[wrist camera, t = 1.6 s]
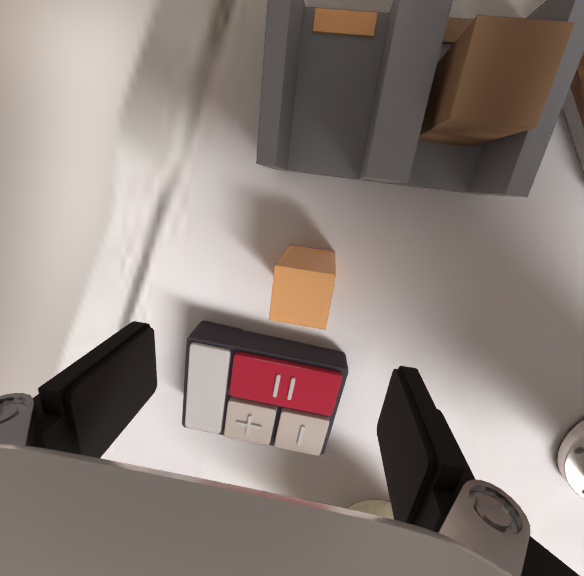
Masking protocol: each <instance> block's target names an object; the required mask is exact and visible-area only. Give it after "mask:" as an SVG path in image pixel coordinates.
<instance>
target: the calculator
mask: <svg viewBox="0 0 584 576" xmlns="http://www.w3.org/2000/svg"><path fill="white" fill-rule="evenodd" d="M347 375H348V366H347V360H346V355H345V354H344V353H343V352H339V351H335V350H330V349H326V348H321V347H317V346H313V345H308V344H304V343H299V342H295V341H290V340H285V339H280V338H275V337H270V336H265V335H260V334H255V333H250V332H246V331H243V330H241V329H238V328H234V327H230V326H225V325H221V324H217V323H212V322H208V321H202V322H201V323H200V324H199V325H198V326H197V327H196V329H195V330H194V331H193V332H192V333H191V335H190V336H189V337H188V338H187V347H186V365H185V382H184V399H183V417H182V425H183V426H184V427H186V428H191V429H196V430H201V431H206V432H211V433H216V434H220V435H224V436H225V437H228V438H233V439H238V440H242V441H247V442H252V443H257V444H262V445H274V446H275V447H277V448H281V449H286V450H291V451H296V452H301V453H306V454H311V455H316V456H319V455H322V454H323V453H324V451H325V448H326V445H327V441H328V438H329V435H330V431H331V428H332V425H333V421H334V418H335V415H336V411H337V408H338V405H339V401H340V398H341V395H342V391H343V388H344V385H345V382H346V378H347Z"/></svg>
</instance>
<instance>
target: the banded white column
mask: <svg viewBox="0 0 584 576" xmlns="http://www.w3.org/2000/svg"><path fill="white" fill-rule="evenodd" d="M562 109H563V112H564V115H565V118H566V121H567V124H568V127H569V130H570V133H571V136H572V139H573V142H574V145H575V148H576V151H577V154H578V157H579V160H580V163H581V166H582V169H583V172H584V52H583V55H582V57H581V60H580V62H579V65H578V67H577V70H576V73H575V75H574V78H573V80H572V83H571V86H570V88H569V91H568V93H567V96H566V98H565V101H564V104H563V106H562Z"/></svg>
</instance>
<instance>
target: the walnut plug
mask: <svg viewBox="0 0 584 576" xmlns="http://www.w3.org/2000/svg"><path fill="white" fill-rule="evenodd" d="M574 24H575V22H564V21H550V20H537V19H524V18H510V17H497V16H483V15H477V17H476V18H475V19H474V20H473V21H472V23H471V24H470V25H469V26H468V27H467V28H466V30H465V31H464V32H463V33H462V34H461V36H460V37H459V38H458V39H457V40H456V41H455V43H454V44H453V45H452V46H451V47H450V48H449V50H448V51H447V52H446V53H445V54H444V56H443V57H442V58H441V59H440V60H439V61H438V63H437V66H436V70H435V74H434V78H433V82H432V86H431V90H430V94H429V98H428V102H427V107H426V111H425V115H424V119H423V123H422V127H421V131H420V135H419V139H418V141H424V142H433V143H442V144H451V145H460V146H469V147H471V146H474V145H478V144H481V143H485V142H488V141H491V140H495V139H498V138H502V137H505V136H509V135H512V134H516V133H519V132H523V131H526V130H529V129H533V128H536V127H537V124H538V122H539V119H540V116H541V113H542V111H543V108H544V105H545V103H546V100H547V97H548V94H549V92H550V89H551V86H552V83H553V81H554V78H555V75H556V73H557V70H558V67H559V64H560V62H561V59H562V56H563V54H564V51H565V48H566V45H567V43H568V40H569V37H570V35H571V32H572V29H573V26H574Z"/></svg>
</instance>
